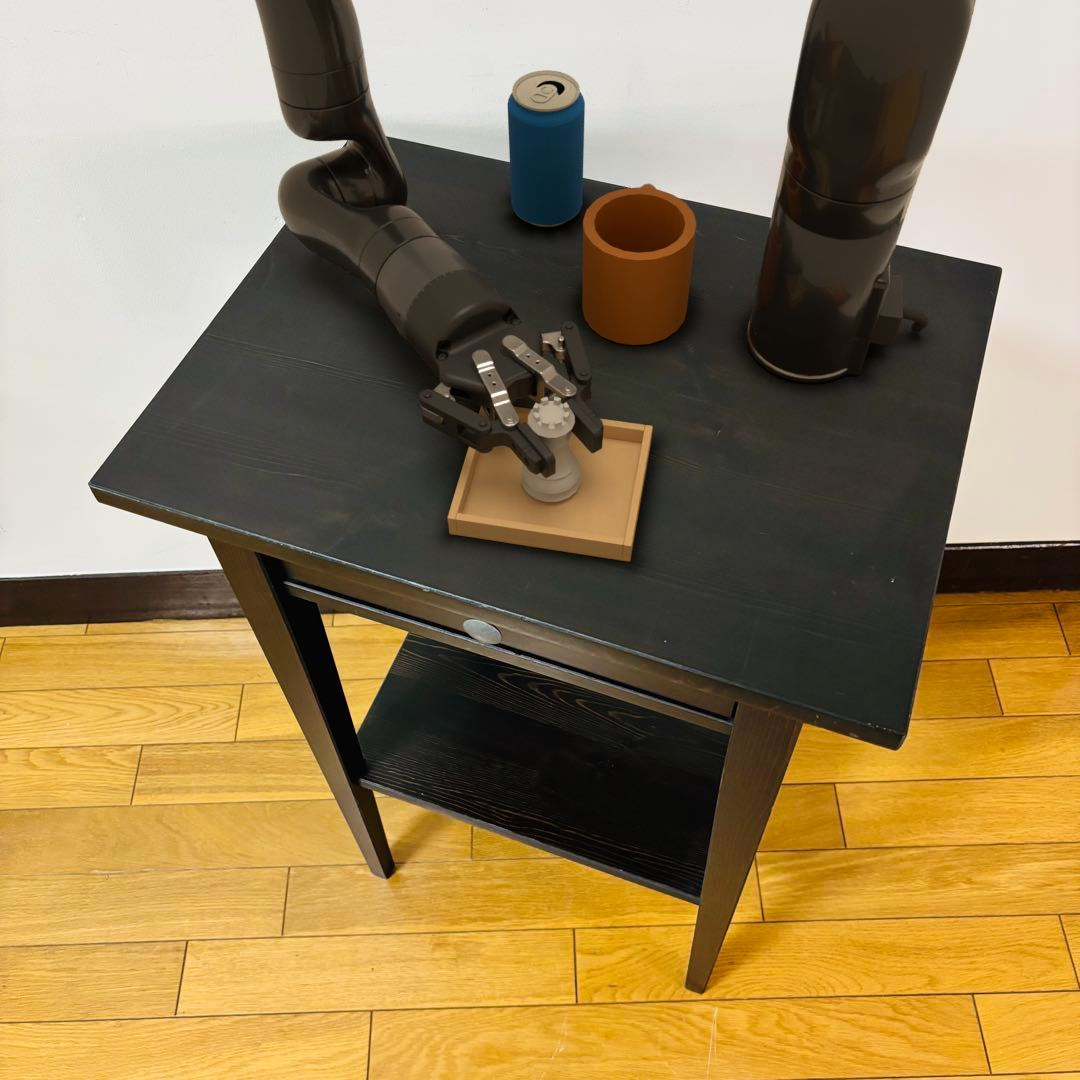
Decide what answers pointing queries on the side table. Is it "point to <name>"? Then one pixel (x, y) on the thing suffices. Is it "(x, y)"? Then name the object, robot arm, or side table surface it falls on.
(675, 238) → the mug
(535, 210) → the beverage can
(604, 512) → the tray
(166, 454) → the side table surface
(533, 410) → the rook chess piece
